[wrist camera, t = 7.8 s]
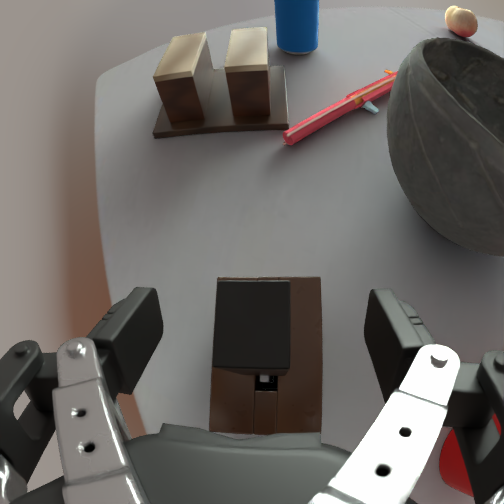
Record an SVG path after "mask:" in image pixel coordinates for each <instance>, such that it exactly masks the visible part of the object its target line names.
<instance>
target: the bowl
mask: <svg viewBox="0 0 504 504" xmlns="http://www.w3.org/2000/svg"><path fill="white" fill-rule="evenodd" d="M387 138H388V146H389V153H390V158H391V162H392V166H393V169H394V171H395V174H396V176H397V178H398V181H399V183H400V185H401V187H402V189H403V191H404V193H405V194H406V196H407V197H408V199H409V201H410V202H411V204H412V206H413V207H414V208H415V210H416V211H417V212H418V214H419V215H420V216H421V217H422V218H423V219H424V220H425V221H426V222H427V223H428V224H429V225H430V226H431V227H432V228H433V229H434V230H436V231H437V232H438V233H440V234H441V235H442V236H444V237H445V238H447V239H449V240H451V241H452V242H454V243H456V244H458V245H460V246H462V247H465V248H467V249H470V250H472V251H475V252H479V253H484V254H489V255H494V256H504V59H503V58H502V57H500V56H498V55H496V54H494V53H493V52H491V51H489V50H487V49H485V48H483V47H480V46H477V45H475V44H472V43H469V42H465V41H462V40H458V39H450V38H431V39H427V40H423V41H421V42H420V43H419V44H418V45H416V46H415V47H414V48H413V50H412V51H411V53H410V54H409V55H408V56H407V57H406V58H405V60H404V61H403V63H402V64H401V66H400V68H399V70H398V73H397V75H396V78H395V80H394V83H393V86H392V89H391V93H390V97H389V102H388V110H387Z"/></svg>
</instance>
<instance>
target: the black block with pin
mask: <svg viewBox="0 0 504 504" xmlns="http://www.w3.org/2000/svg"><path fill="white" fill-rule="evenodd" d="M290 345H291V284H290V281H232V280H219V281H218V282H217V295H216V310H215V325H214V342H213V359H212V366H213V367H214V368H218V369H222V370H226V371H229V372H233V373H237V374H241V375H254V376H260V382H272V383H273V376H285V375H286V374H287V372H288V371H289V369H290Z"/></svg>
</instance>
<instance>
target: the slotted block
mask: <svg viewBox="0 0 504 504" xmlns="http://www.w3.org/2000/svg"><path fill="white" fill-rule="evenodd" d="M153 79H154V81H155V84H156V87H157V90H158V92H159V95H160V97H161V100H162V103H163V104H162V107H161V110H160V113H159V116H158V118H157V121H156V124H155V127H154V130H153V136H154V138H155V139H156V138H164V137H173V136H182V135H192V134H204V133H217V132H232V131H254V130H288V129H289V120H288V106H287V93H286V81H285V69H284V66H270V63H269V49H268V35H267V27H257V28H241V29H232V33H231V37H230V42H229V47H228V51H227V56H226V61H225V66H224V69H213V66H212V61H211V57H210V52H209V47H208V42H207V38H206V33H205V32H203V33H196V34H190V35H184V36H178V37H173V38H172V40H171V42H170V44H169V46H168V48H167V50H166V52H165V54H164V55H163V57H162V59H161V61H160V63H159V65H158V67H157V69H156V71H155V74H154V76H153Z"/></svg>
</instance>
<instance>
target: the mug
mask: <svg viewBox="0 0 504 504" xmlns="http://www.w3.org/2000/svg"><path fill="white" fill-rule="evenodd" d="M492 418H493V420H494V423H495V425H496V427H497V429H498V432H499V434H500V435H501V426H500V423H499V421H498V419H497V417H496V414H495V413H494V415H493V417H492ZM439 468H440V474H441V476H442V479H443V480H444V482H445V483H446V484H447V485H449V486H450V487H452V488H454V489H457V490H459V491H461V492H463V493H465V494H467V495H470V496H472V497H474V496H473V492H472V488H471V484H470V481H469V477H468V474H467V470H466V467H465V463H464V460H463V457H462V454H461V451H460V447H459V444H458V441H457V438H456V435H455V432H454V430H453V429H452V430H451V432H450V433H449V435H448V437H447V439H446V440H445V442H444V445H443V448H442V450H441V455H440V462H439Z"/></svg>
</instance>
